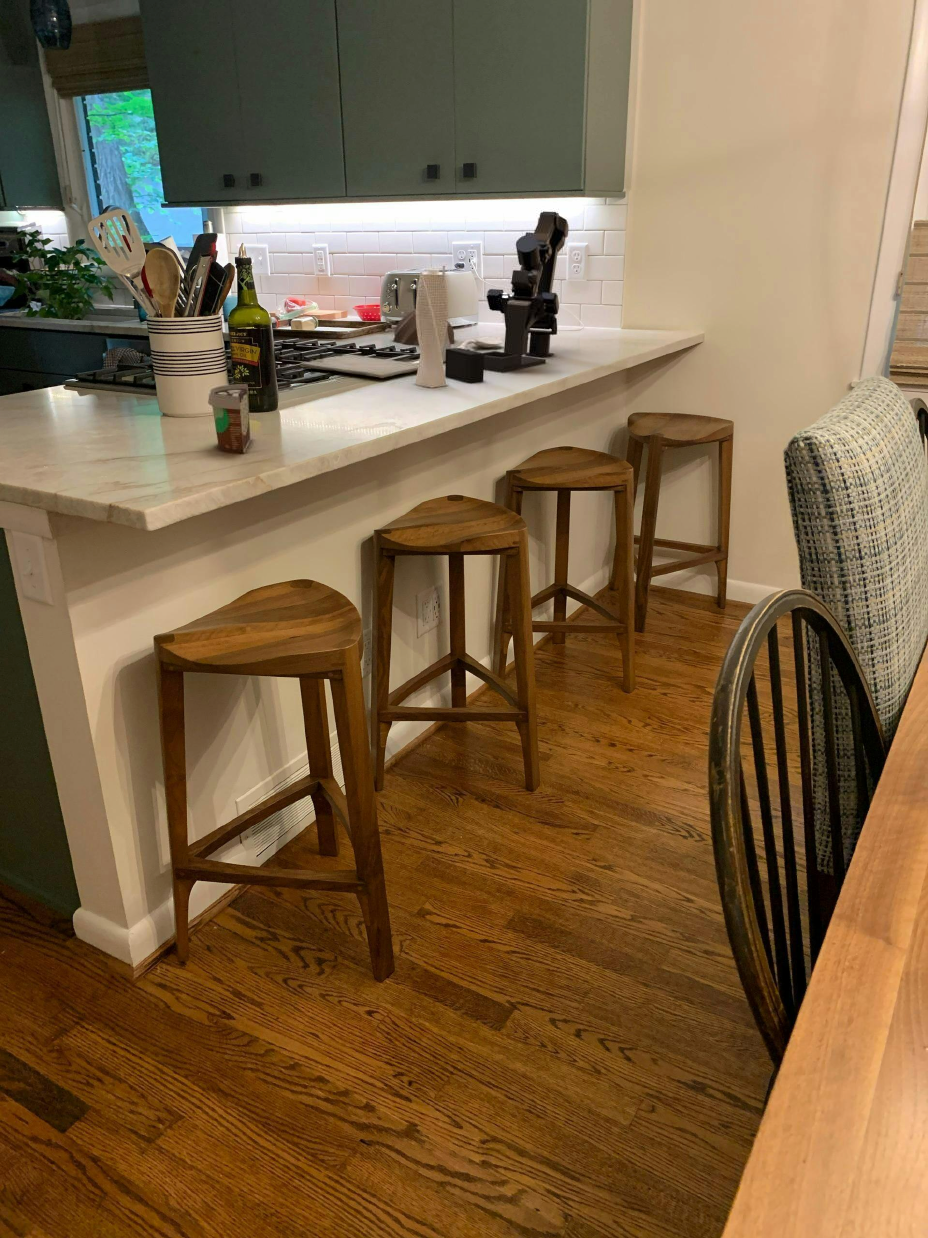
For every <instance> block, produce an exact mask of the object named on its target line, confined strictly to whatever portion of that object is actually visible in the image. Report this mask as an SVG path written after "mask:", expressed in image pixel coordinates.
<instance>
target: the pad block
mask: <svg viewBox="0 0 928 1238" xmlns="http://www.w3.org/2000/svg"><path fill="white" fill-rule="evenodd" d="M530 309H531V301H520V300H511V301H508V303H507V317H506V327H505V331H504V332H505V333H504V346H503V347H504V348H503V352H504V353H505V354H514V355H522V356H524V355H525V353H527V352H528V348H529V346H528V345H529V336H530V333H529V328H528V329H527V330H526V329H525V326H526V321H527V318H528V315H529V312H530Z"/></svg>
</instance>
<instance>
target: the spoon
mask: <svg viewBox="0 0 928 1238" xmlns="http://www.w3.org/2000/svg"><path fill="white" fill-rule="evenodd" d="M503 343H504V339H503V338H501V337H498V336H486V337H481V338H478V339H476V338H472V339H467V340H465V341H464V342H463V343H461V344H460V345H459V346H458V347H457V348H462V349H466V347H467V346H468V345H473V344H474V345H475V346H477V347H481V348H485V349H487V348H494V347H498V346H500V345H502V344H503Z"/></svg>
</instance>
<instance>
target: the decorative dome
mask: <svg viewBox="0 0 928 1238" xmlns="http://www.w3.org/2000/svg"><path fill="white" fill-rule="evenodd" d="M447 323H448V324H449V326H448V338H449V341H450V345H453V344H454V342H455V331H454V328H453V326H452V325H451V323H450V322H449V320H447ZM393 342H395V343H398V344H402V345H410V346H411V345H413V346H419V342H418V335H417V327H416V309H413V310H412V311H410V312H408V313H407V314H406V315H405V316H403V317H402V318H401V319H400V320H399V321H398V323H397V324H396V326H395V329H394V337H393Z"/></svg>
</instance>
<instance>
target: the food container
mask: <svg viewBox="0 0 928 1238" xmlns="http://www.w3.org/2000/svg"><path fill="white" fill-rule="evenodd" d="M207 404H208V405H210V406H211V407H212V413H213V419H214V427H215V434H216V441H217V446H218V449H219V450H220V451H222V452H227V453H233V454H245V452H246V450H247V449H248V446H249V445H250V442H251V426H250V406H249V386H248V383H240V384H225V385H220V386H215V387H213V388H211V389H210V392H209V394H208V400H207Z"/></svg>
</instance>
